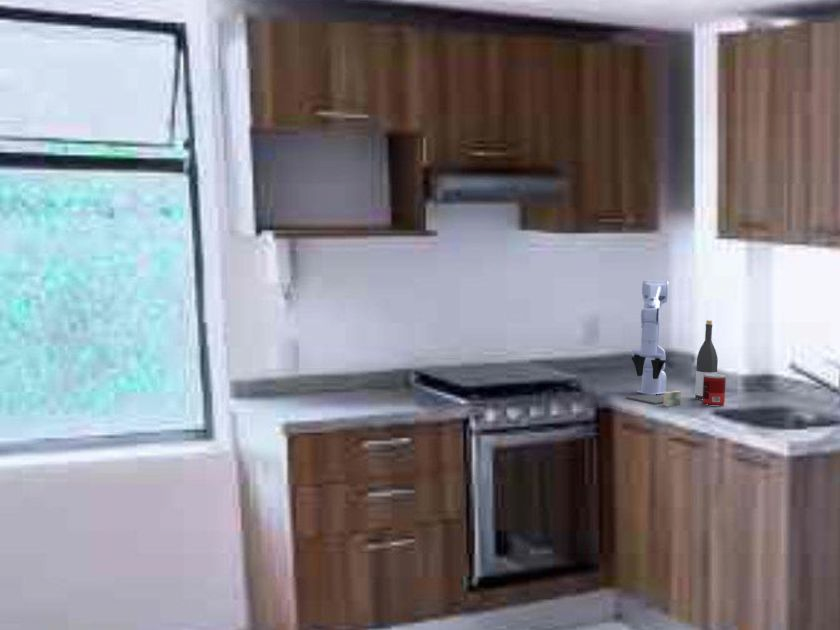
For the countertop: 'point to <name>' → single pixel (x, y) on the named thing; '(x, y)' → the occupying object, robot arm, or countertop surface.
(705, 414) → the countertop surface
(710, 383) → the canned food
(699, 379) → the wine bottle
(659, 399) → the rubber mat
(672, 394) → the pale green block
